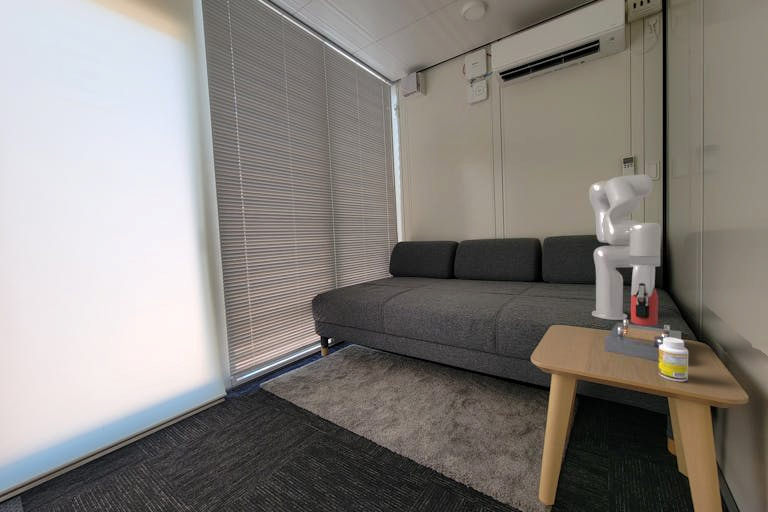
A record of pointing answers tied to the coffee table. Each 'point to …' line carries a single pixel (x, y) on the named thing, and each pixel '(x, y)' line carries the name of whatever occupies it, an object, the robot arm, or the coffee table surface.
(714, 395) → the coffee table surface
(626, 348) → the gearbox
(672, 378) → the supplement bottle
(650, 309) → the beer can
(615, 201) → the robot arm
